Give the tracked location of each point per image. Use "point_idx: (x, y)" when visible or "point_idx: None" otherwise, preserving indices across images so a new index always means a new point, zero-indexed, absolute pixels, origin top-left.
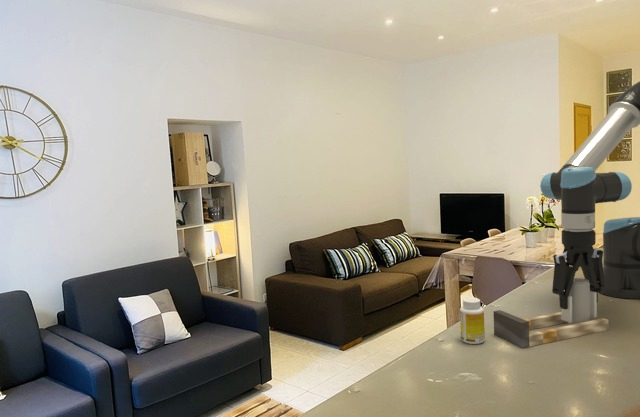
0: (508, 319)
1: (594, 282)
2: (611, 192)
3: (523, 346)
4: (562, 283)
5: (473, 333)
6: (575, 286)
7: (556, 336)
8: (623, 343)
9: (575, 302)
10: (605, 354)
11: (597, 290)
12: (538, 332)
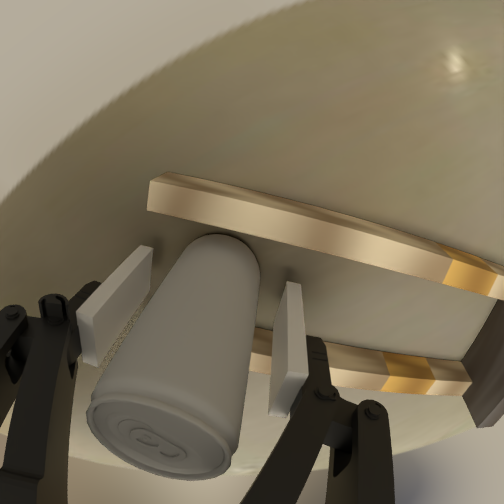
0: None
1: (51, 363)
2: None
3: None
4: (375, 470)
5: None
6: (235, 421)
7: (443, 249)
8: (278, 48)
9: (249, 338)
10: (439, 56)
11: (61, 315)
12: (496, 289)
